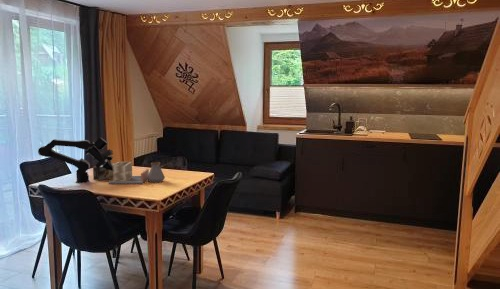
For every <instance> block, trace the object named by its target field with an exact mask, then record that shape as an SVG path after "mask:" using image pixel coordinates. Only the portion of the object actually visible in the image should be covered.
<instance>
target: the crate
mask: <svg viewBox="0 0 500 289" xmlns="http://www.w3.org/2000/svg"><path fill="white" fill-rule="evenodd" d="M132 176H133V161H118V162H116V163H115V164H114V165H113V177H112V180H113V181H128V180H130V179H131V178H132Z"/></svg>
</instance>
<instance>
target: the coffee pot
mask: <svg viewBox="0 0 500 289" xmlns="http://www.w3.org/2000/svg"><path fill="white" fill-rule="evenodd" d="M150 165H151V168H150V169H149V175H148V177H147V179H148V180H147V181H148V182H150V183H152V184H158V183H159V184H160V183H162V182H163V181H164V180H165V178H166V177H165V174H164V172H163V171H162V168H163V167H166V166H169V165H172V162H171V161H170V162H168V163H164V164H162V165H161V162H160V161H159V162H158V161H157V162H156V161H154V162H151V163H150ZM160 165H161V166H160Z"/></svg>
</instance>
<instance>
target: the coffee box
mask: <svg viewBox="0 0 500 289" xmlns="http://www.w3.org/2000/svg"><path fill="white" fill-rule="evenodd" d="M111 164H112V166H113V165H114V164H116V163H111ZM102 167H103V165H101V166H100V168H99V169H98V168H97V167H96V165H95V166H92V171H93V172H92V173H93V175H92V176H93V180H96V181H102V180H105V179H106V180H107V179H111V178H112V179H113V171H111V170H109V169H105V168H102Z"/></svg>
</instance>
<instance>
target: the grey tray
mask: <svg viewBox="0 0 500 289" xmlns="http://www.w3.org/2000/svg"><path fill="white" fill-rule="evenodd" d="M149 172H150V169H149V168H146V169H145V170H143V171H142V172H141V173H140V175H132V178H131V179H130V180H128V181H113V179H112V180H109V181H108V185H144V184H145V183H146V182H147V181H149V180H148V179H147V177H148V175H149Z"/></svg>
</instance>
